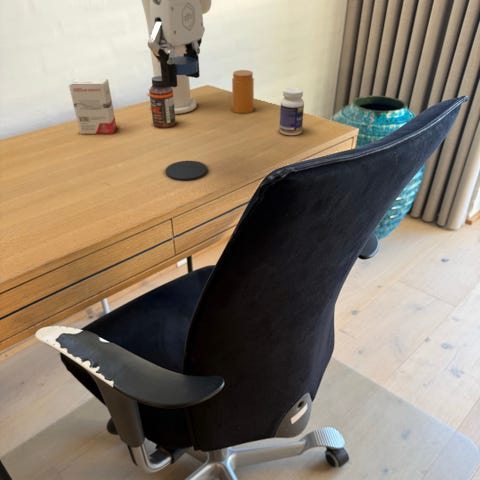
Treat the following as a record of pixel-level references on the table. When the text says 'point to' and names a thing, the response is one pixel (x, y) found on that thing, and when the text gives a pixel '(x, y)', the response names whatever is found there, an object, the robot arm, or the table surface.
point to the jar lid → (185, 65)
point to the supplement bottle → (162, 103)
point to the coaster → (186, 170)
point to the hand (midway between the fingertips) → (181, 80)
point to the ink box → (93, 106)
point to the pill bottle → (291, 111)
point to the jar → (243, 91)
